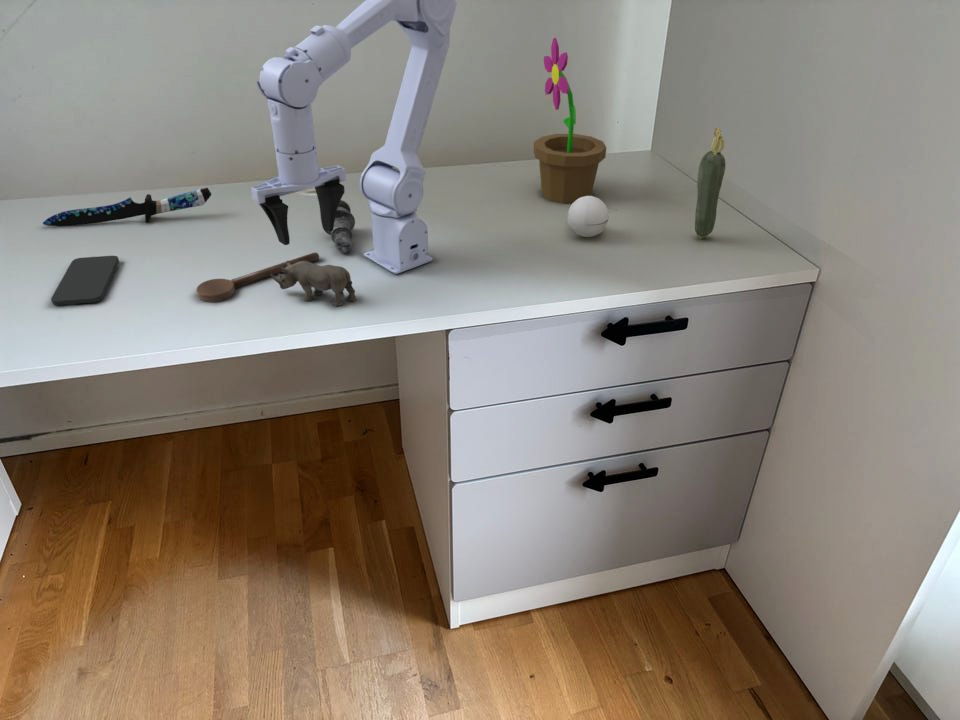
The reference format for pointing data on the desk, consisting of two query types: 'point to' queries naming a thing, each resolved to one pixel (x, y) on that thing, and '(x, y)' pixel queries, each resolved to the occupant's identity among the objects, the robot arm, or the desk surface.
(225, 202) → the desk surface
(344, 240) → the grey weathered turned ornament
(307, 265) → the rhino figurine
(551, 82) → the flowerpot
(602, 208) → the white ball
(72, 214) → the knife
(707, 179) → the vegetable
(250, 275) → the brown long-handled part
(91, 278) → the phone
